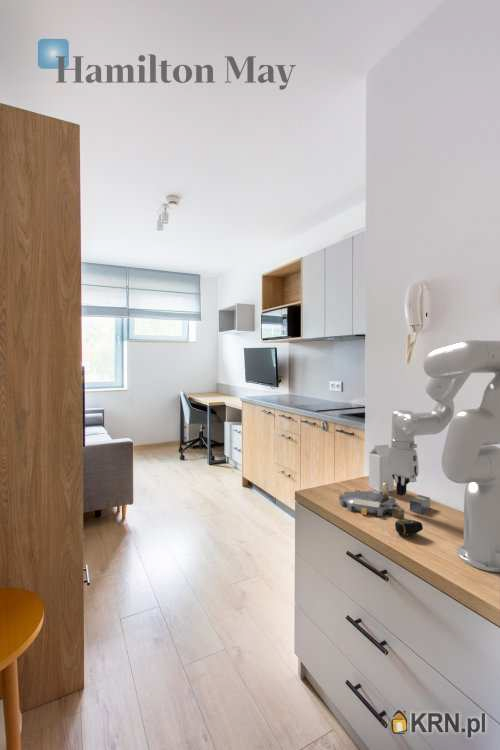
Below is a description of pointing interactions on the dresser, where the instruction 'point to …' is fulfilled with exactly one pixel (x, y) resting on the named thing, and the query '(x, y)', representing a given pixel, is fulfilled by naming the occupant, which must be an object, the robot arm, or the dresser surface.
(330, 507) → the dresser surface
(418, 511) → the grey rectangular block
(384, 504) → the sprocket
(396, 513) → the taupe wooden cube
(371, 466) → the milk carton
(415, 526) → the tape measure
